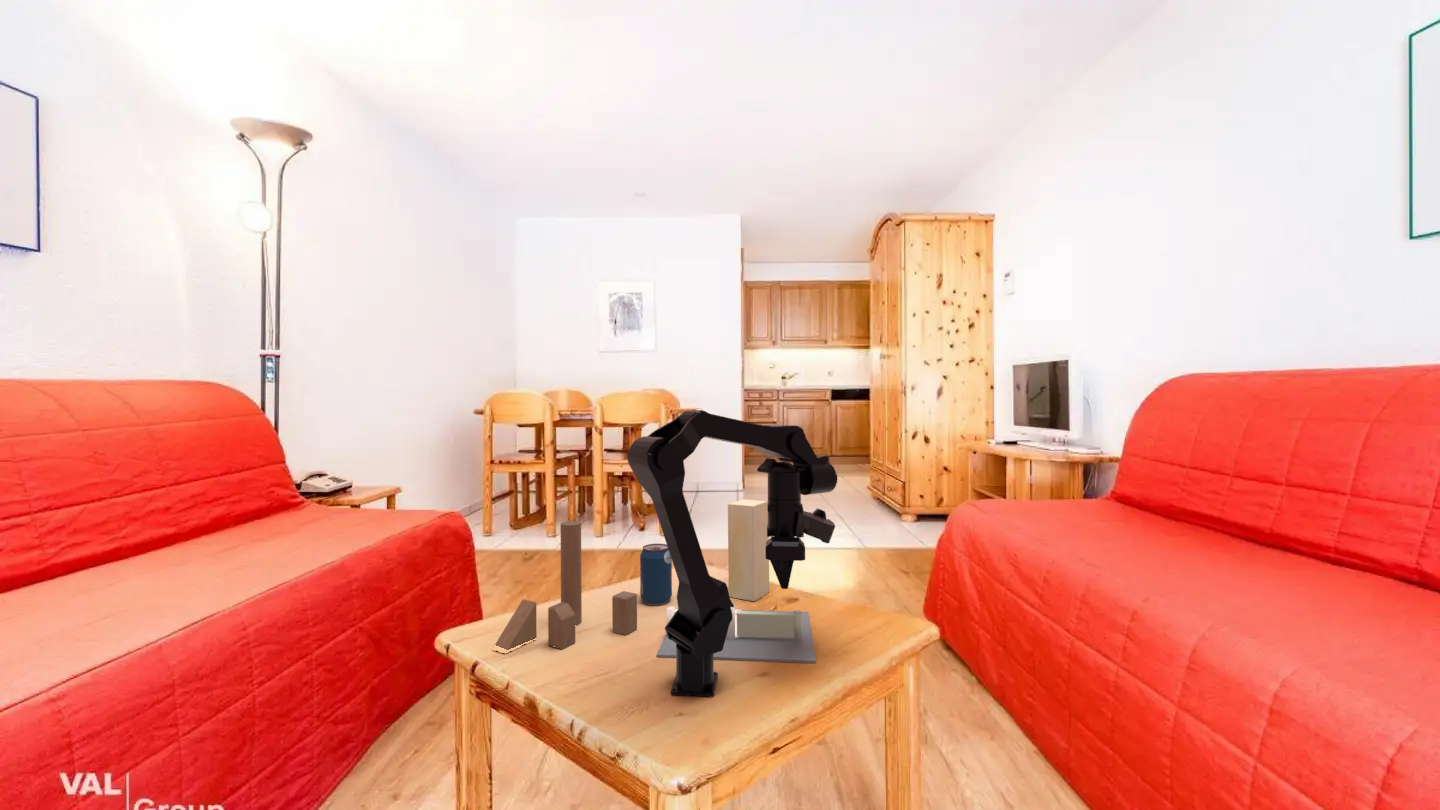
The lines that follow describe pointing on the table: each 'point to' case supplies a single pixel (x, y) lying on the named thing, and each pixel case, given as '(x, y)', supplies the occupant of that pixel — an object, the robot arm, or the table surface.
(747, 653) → the card
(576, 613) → the wooden blocks
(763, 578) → the tall beige block
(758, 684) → the table surface
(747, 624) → the swinging fence panel
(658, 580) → the soda can
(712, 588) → the robot arm
